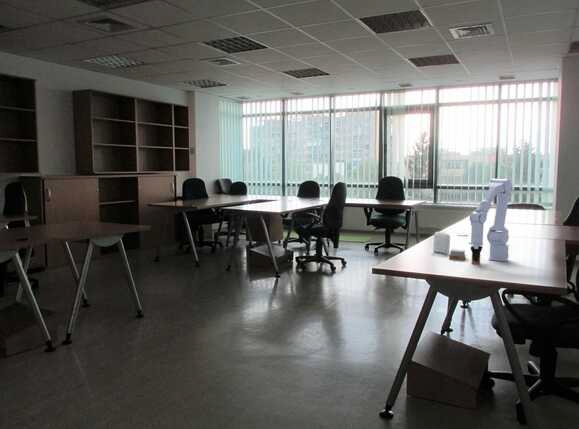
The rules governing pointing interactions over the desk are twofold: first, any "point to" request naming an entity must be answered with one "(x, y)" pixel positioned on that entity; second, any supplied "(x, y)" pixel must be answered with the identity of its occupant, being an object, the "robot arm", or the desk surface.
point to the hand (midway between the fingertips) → (475, 260)
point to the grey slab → (457, 252)
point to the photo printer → (441, 242)
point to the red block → (475, 261)
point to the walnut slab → (457, 257)
